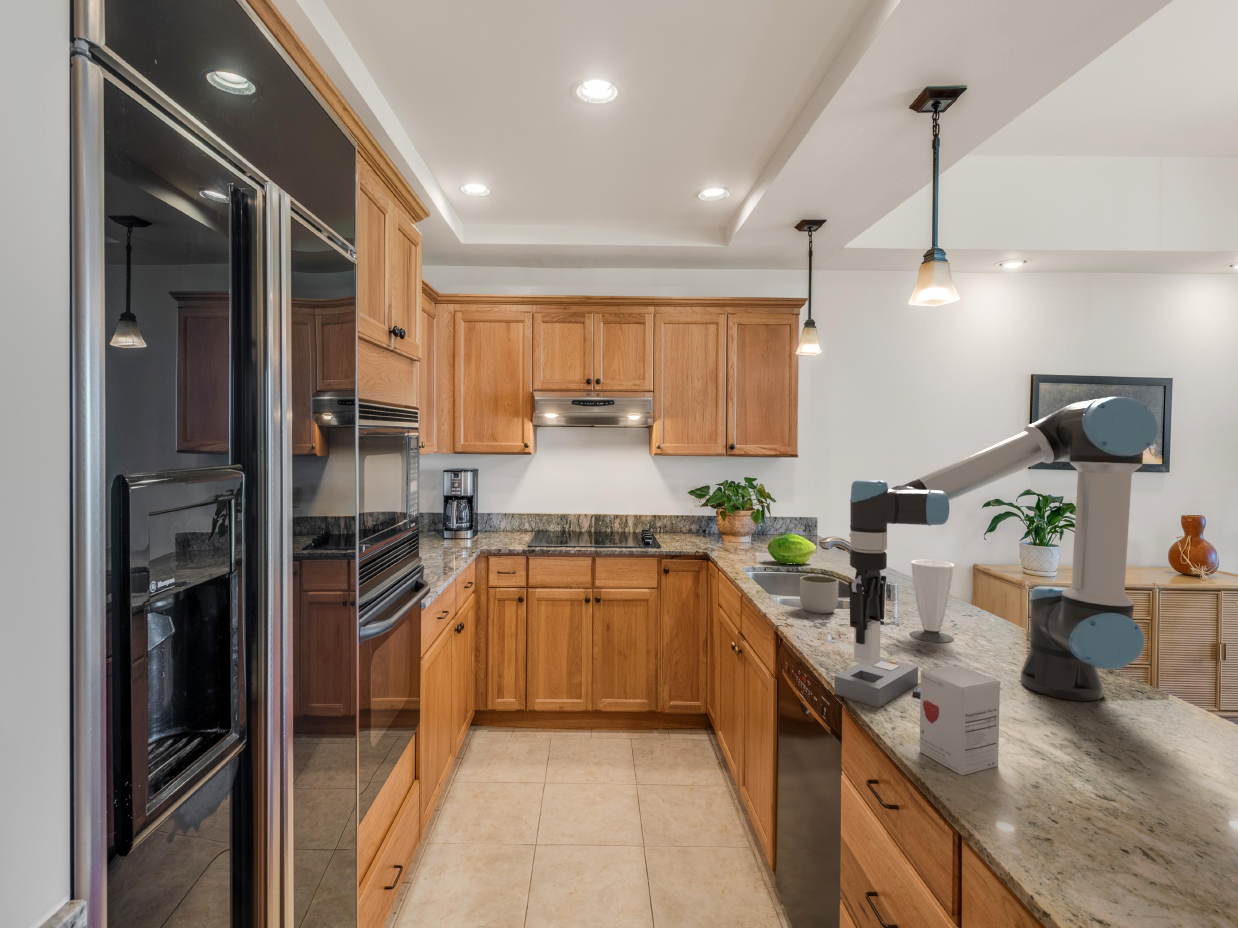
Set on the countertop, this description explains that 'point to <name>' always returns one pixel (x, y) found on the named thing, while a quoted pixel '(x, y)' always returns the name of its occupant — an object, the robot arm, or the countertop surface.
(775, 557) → the green oval fruit
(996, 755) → the supplement box
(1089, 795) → the countertop surface
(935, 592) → the cup
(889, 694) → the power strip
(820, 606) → the planter
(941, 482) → the robot arm
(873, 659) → the block
